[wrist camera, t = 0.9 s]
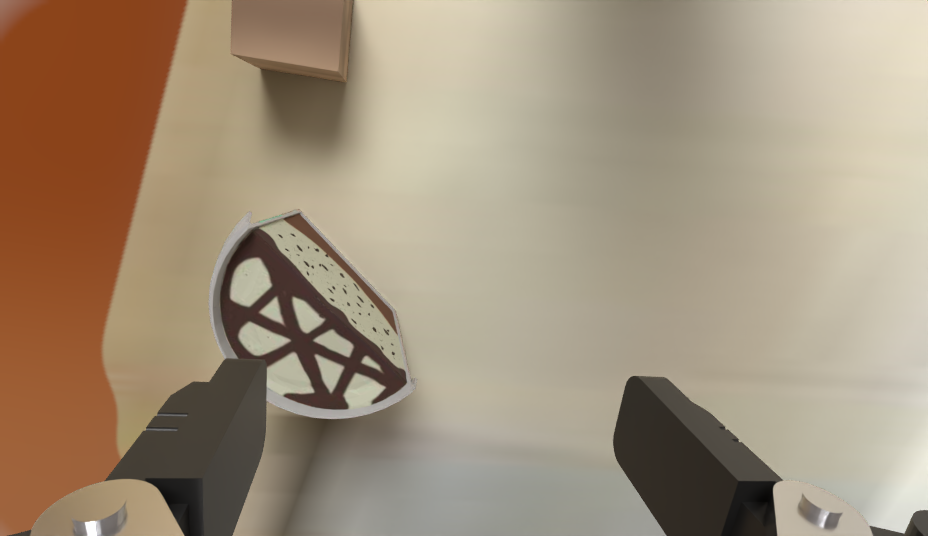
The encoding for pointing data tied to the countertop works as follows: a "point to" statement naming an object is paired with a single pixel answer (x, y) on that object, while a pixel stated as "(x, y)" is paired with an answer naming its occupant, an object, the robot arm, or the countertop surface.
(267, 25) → the walnut block
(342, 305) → the food container
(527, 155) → the countertop surface
